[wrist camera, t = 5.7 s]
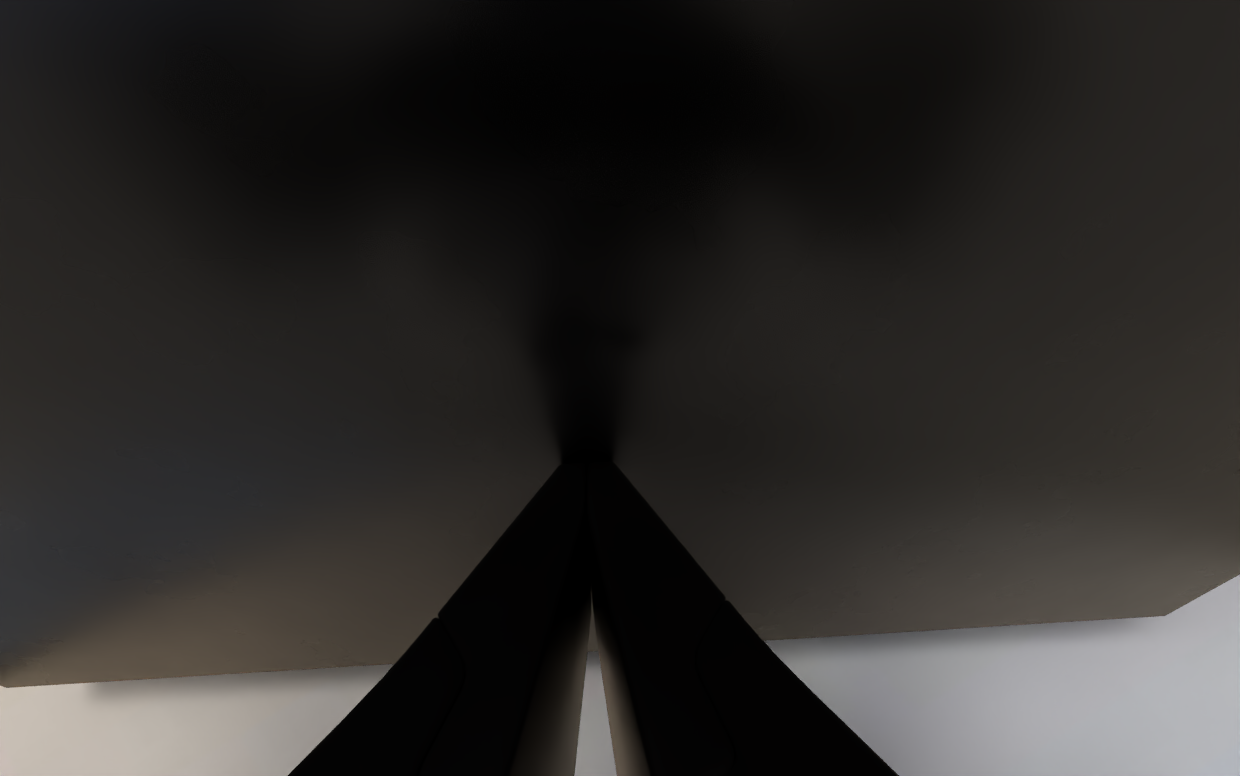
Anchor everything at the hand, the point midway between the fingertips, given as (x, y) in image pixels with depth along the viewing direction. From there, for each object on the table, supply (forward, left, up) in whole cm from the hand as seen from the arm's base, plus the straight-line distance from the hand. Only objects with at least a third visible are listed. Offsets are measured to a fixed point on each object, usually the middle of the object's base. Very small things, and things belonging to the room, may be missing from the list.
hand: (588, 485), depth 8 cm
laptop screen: (+2, -1, +2) cm, 3 cm away
